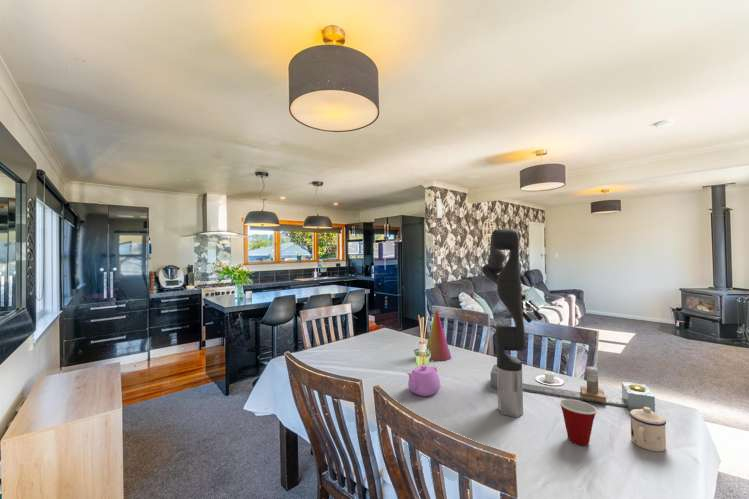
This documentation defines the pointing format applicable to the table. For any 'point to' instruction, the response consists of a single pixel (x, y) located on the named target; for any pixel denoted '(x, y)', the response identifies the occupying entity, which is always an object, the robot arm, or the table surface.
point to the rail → (631, 398)
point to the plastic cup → (578, 420)
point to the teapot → (424, 380)
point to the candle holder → (549, 378)
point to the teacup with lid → (648, 429)
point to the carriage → (592, 386)
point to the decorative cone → (438, 341)
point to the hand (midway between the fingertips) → (536, 320)
